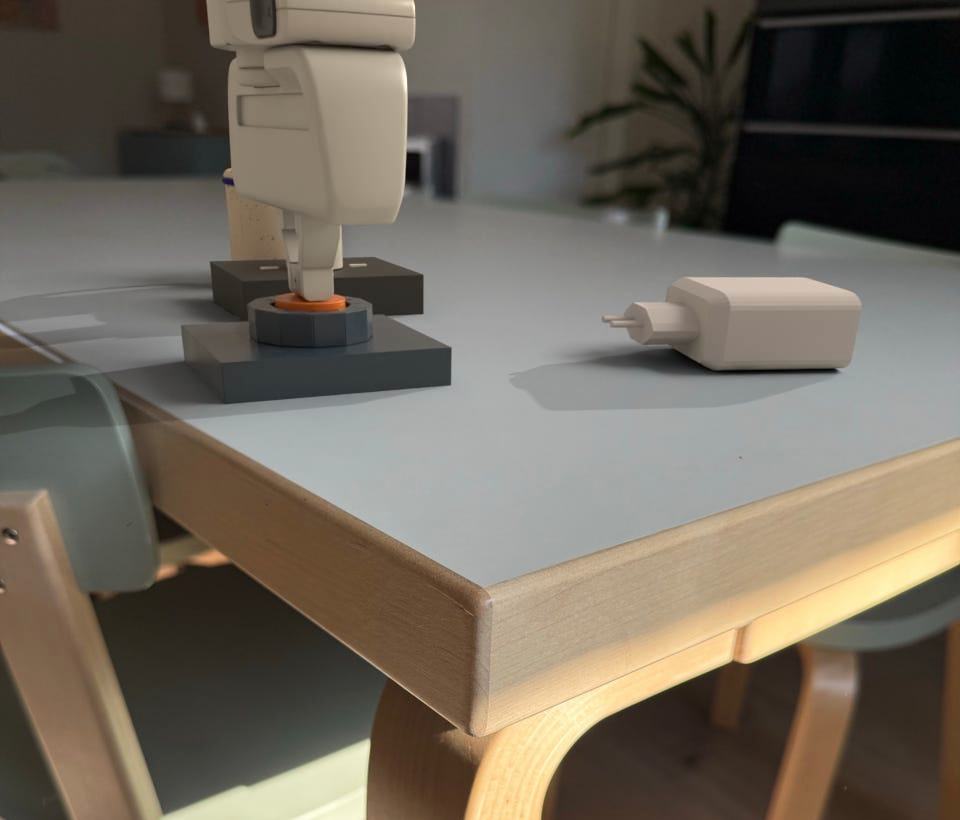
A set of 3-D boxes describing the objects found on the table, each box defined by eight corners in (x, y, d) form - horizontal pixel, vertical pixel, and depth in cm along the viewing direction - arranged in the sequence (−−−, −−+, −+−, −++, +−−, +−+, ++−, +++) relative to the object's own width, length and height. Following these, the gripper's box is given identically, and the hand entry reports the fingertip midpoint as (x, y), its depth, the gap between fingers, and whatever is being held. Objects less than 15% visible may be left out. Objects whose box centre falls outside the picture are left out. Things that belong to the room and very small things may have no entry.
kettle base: (246, 324, 72) (242, 278, 70) (213, 300, 80) (209, 259, 79) (423, 314, 77) (423, 272, 76) (375, 293, 86) (374, 254, 84)
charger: (583, 346, 68) (783, 343, 71) (625, 377, 60) (849, 373, 63) (588, 273, 66) (795, 274, 69) (633, 295, 58) (865, 295, 61)
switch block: (225, 405, 52) (217, 326, 50) (184, 361, 60) (176, 293, 58) (451, 386, 57) (452, 314, 55) (383, 348, 65) (382, 285, 63)
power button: (287, 337, 55) (285, 305, 54) (268, 324, 58) (266, 293, 57) (355, 333, 56) (354, 301, 56) (333, 321, 60) (332, 291, 59)
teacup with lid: (339, 291, 86) (334, 142, 81) (233, 292, 84) (220, 139, 78) (322, 272, 96) (316, 138, 91) (227, 272, 94) (215, 136, 89)
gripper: (192, 22, 57) (216, 274, 63) (291, -12, 41) (309, 332, 47) (298, 29, 59) (311, 271, 66) (431, 0, 43) (430, 325, 50)
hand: (311, 297), depth 56 cm, fingers closed, pressing on power button
